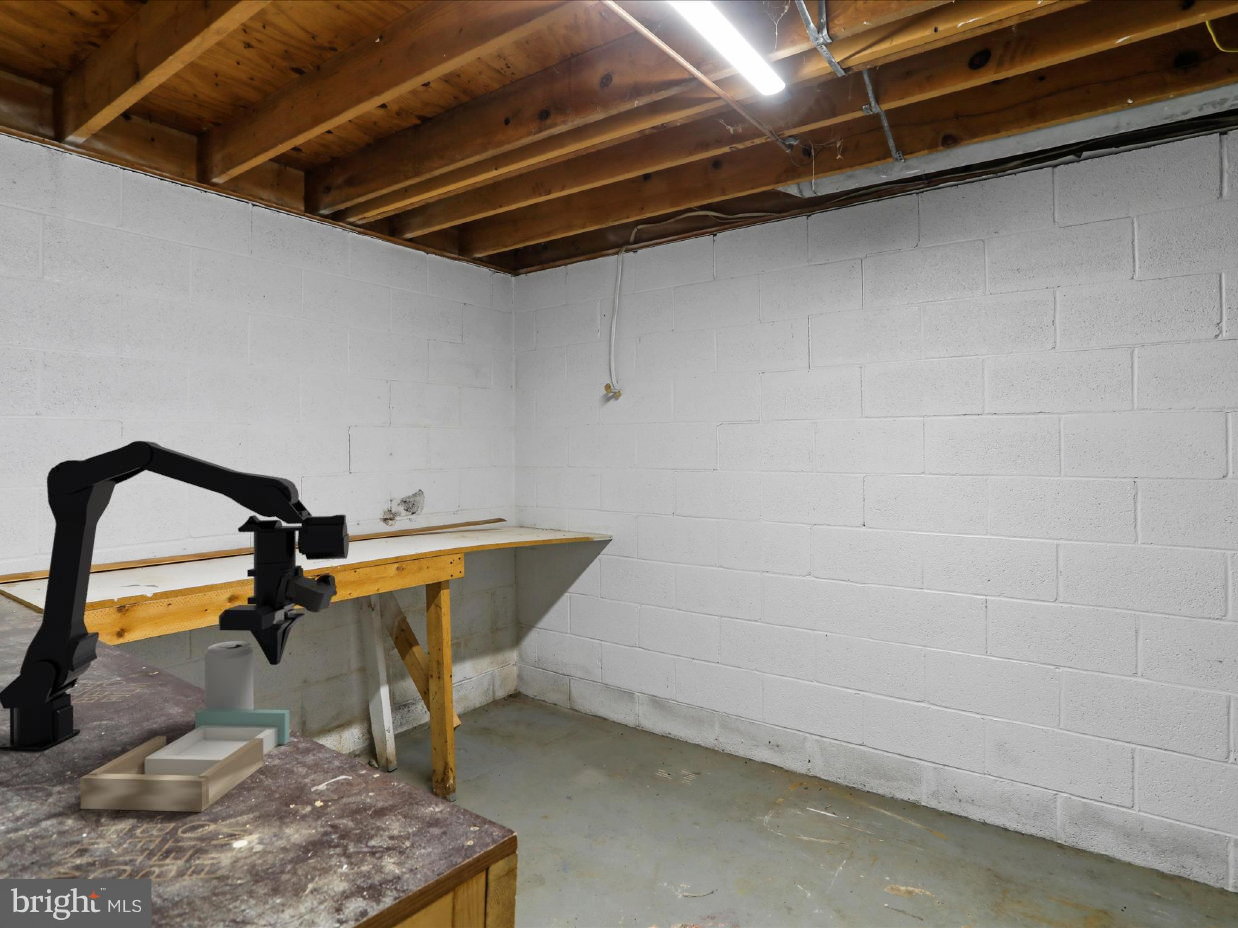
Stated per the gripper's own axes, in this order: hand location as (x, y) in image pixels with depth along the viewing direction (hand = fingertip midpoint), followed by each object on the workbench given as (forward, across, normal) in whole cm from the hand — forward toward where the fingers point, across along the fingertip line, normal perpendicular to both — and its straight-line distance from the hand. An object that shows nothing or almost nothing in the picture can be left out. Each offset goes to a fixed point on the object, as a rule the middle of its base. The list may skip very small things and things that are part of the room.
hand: (275, 664), depth 105 cm
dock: (+9, -19, +1) cm, 21 cm away
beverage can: (+9, 0, +7) cm, 12 cm away
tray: (+9, -13, +1) cm, 16 cm away
